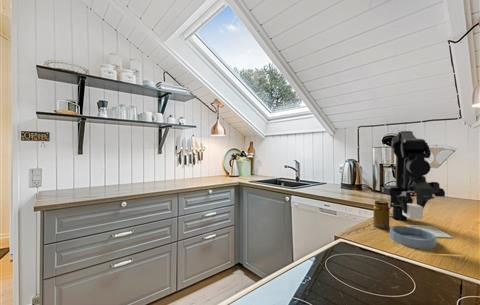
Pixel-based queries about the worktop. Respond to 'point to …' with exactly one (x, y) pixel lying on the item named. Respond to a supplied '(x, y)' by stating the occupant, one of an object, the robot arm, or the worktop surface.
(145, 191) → the worktop surface
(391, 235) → the bowl
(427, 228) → the tray
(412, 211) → the white matte cube
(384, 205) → the condiment
